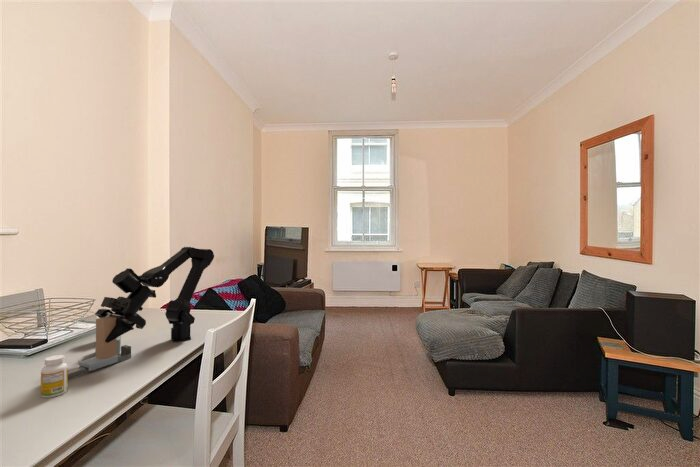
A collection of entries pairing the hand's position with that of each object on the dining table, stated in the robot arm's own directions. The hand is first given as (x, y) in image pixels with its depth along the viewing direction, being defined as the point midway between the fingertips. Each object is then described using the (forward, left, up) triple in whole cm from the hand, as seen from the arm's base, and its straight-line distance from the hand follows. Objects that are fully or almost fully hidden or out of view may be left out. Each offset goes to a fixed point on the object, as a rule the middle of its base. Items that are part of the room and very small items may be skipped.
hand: (101, 341), depth 109 cm
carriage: (+1, 0, -7) cm, 7 cm away
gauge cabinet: (-1, -14, -8) cm, 16 cm away
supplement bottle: (+9, +16, -8) cm, 20 cm away
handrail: (+2, +2, -8) cm, 8 cm away
